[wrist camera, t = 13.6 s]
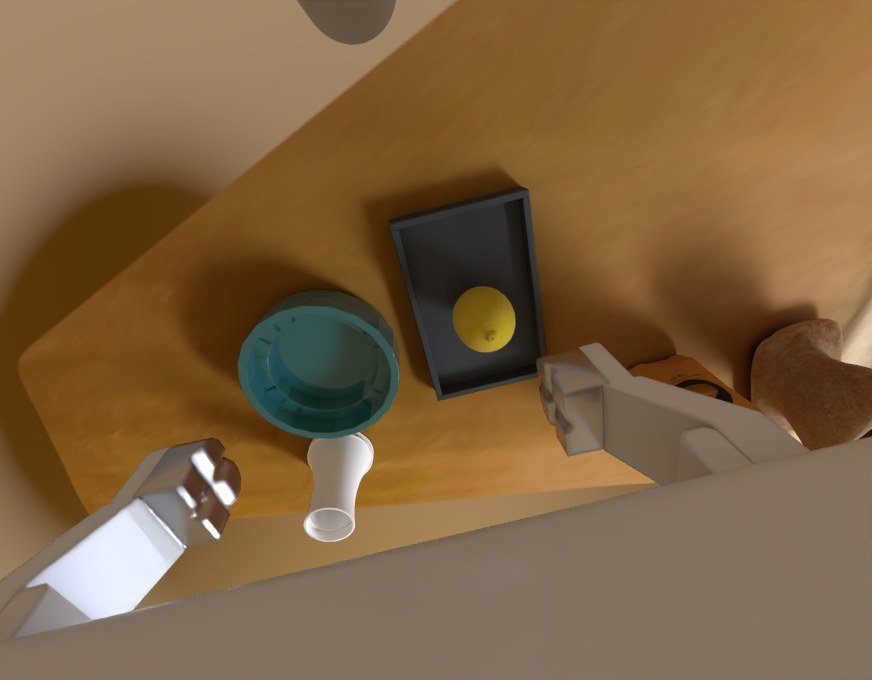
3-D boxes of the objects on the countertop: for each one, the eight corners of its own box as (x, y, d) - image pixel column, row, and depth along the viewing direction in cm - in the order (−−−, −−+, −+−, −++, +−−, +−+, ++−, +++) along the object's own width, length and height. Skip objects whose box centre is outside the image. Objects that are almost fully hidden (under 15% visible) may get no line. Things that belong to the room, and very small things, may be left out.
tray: (389, 219, 35) (389, 224, 34) (521, 186, 35) (528, 188, 33) (436, 390, 44) (438, 401, 42) (542, 364, 44) (548, 374, 42)
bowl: (227, 309, 38) (207, 329, 34) (375, 271, 37) (372, 288, 33) (287, 424, 44) (277, 453, 40) (413, 394, 44) (415, 419, 40)
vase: (324, 482, 49) (309, 558, 40) (297, 438, 45) (274, 510, 37) (382, 465, 49) (379, 538, 40) (360, 420, 45) (351, 489, 36)
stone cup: (727, 337, 45) (867, 422, 31) (833, 303, 44) (1023, 376, 31) (723, 433, 52) (837, 536, 38) (815, 406, 51) (963, 501, 38)
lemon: (440, 287, 38) (450, 321, 31) (494, 267, 38) (517, 297, 31) (457, 334, 41) (471, 376, 34) (508, 316, 40) (533, 354, 33)
